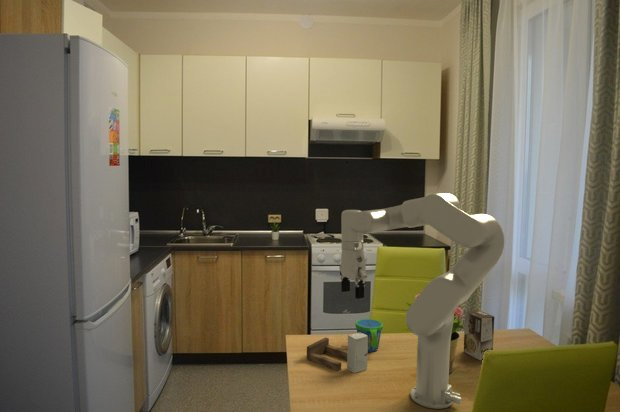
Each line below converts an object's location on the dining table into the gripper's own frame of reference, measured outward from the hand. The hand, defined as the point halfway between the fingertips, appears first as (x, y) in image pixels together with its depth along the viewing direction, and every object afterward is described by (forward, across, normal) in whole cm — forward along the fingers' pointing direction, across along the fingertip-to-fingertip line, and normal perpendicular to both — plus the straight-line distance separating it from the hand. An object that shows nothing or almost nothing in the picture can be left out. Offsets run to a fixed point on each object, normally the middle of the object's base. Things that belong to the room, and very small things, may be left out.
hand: (352, 294), depth 149 cm
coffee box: (+28, -8, -50) cm, 58 cm away
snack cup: (+26, +13, -14) cm, 33 cm away
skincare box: (+27, -1, -1) cm, 27 cm away
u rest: (+26, +8, +3) cm, 28 cm away
